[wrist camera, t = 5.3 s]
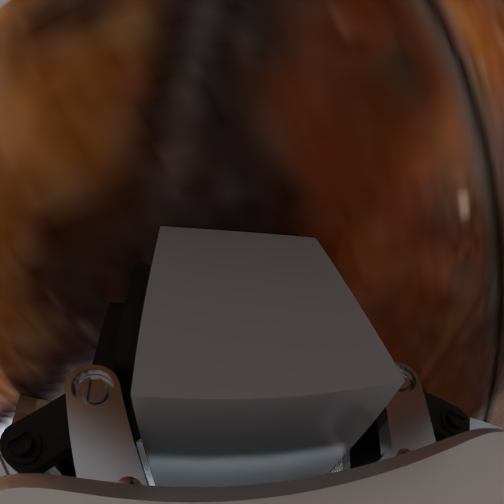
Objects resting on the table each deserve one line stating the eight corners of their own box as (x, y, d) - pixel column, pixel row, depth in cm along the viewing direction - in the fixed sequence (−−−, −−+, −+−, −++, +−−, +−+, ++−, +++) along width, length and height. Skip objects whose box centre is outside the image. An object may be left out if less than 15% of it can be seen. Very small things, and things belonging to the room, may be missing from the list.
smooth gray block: (315, 237, 10) (405, 380, 5) (283, 344, 13) (324, 475, 8) (160, 226, 9) (130, 394, 4) (161, 342, 12) (156, 486, 7)
